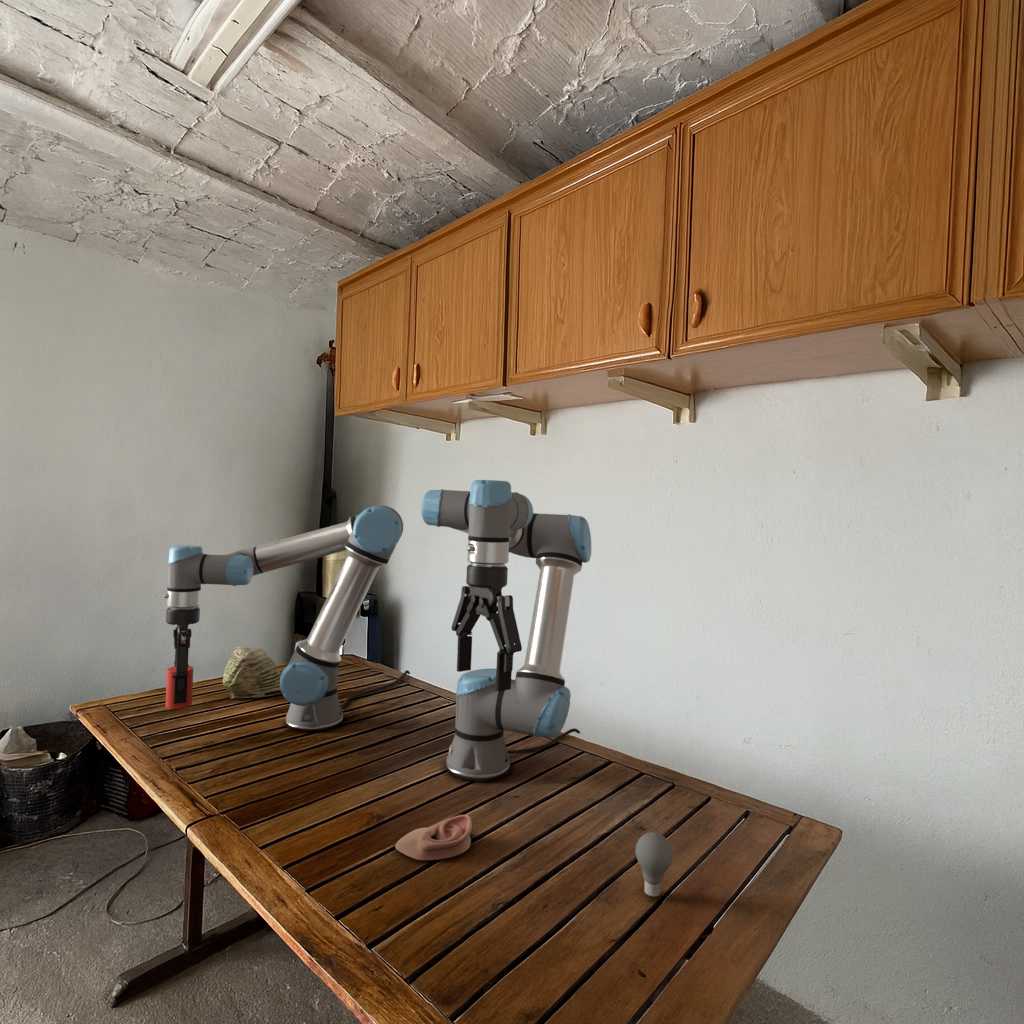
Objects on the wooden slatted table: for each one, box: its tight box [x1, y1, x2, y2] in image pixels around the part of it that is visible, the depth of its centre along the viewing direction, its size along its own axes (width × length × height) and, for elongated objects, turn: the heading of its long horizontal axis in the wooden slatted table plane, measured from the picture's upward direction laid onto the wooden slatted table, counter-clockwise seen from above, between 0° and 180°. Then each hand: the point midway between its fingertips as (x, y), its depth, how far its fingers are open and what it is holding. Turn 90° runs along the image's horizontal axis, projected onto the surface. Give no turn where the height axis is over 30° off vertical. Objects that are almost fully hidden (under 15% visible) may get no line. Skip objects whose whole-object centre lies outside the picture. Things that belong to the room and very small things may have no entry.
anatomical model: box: [394, 814, 473, 861], centre depth 117 cm, size 13×4×12 cm
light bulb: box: [635, 831, 674, 897], centre depth 105 cm, size 6×6×10 cm
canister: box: [165, 665, 194, 710], centre depth 159 cm, size 6×6×9 cm
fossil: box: [222, 646, 282, 699], centre depth 198 cm, size 9×18×15 cm, turn 132°
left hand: (179, 698), depth 159 cm, fingers closed on canister, 6 cm apart
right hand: (482, 679), depth 116 cm, fingers open, 13 cm apart
